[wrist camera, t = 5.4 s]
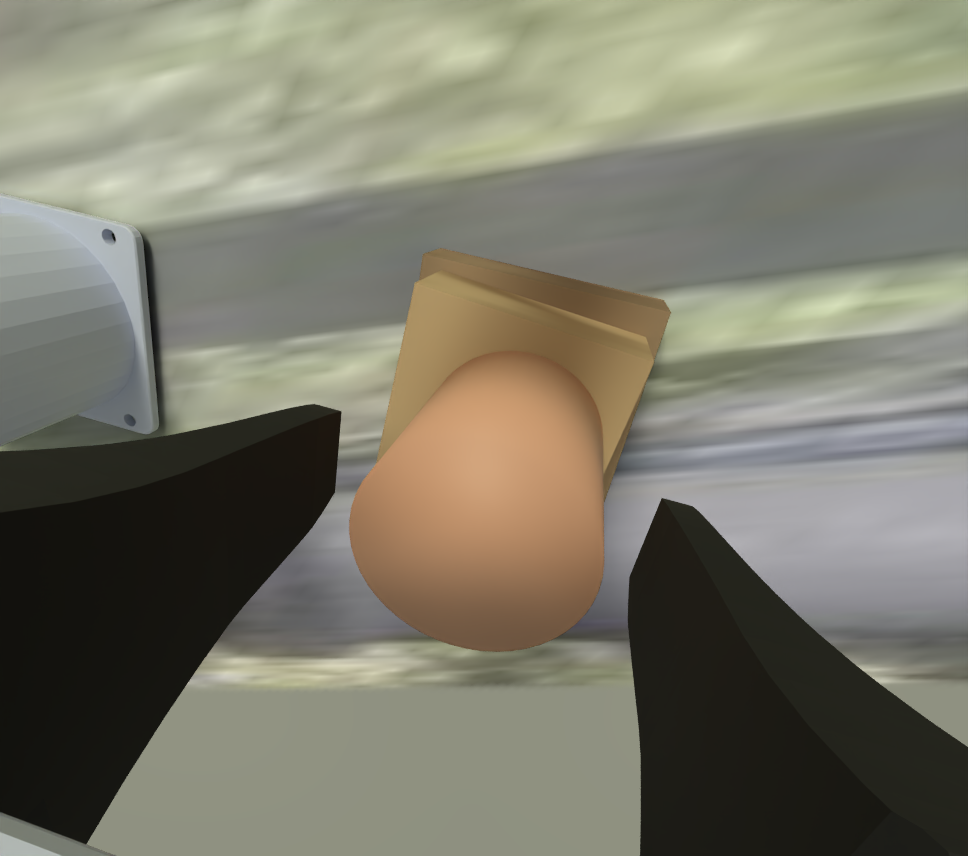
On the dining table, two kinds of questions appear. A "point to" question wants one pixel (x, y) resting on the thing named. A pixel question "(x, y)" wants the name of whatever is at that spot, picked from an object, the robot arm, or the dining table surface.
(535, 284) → the tan square slab
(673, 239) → the dining table surface
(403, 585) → the terracotta cylinder
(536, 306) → the oak top block
